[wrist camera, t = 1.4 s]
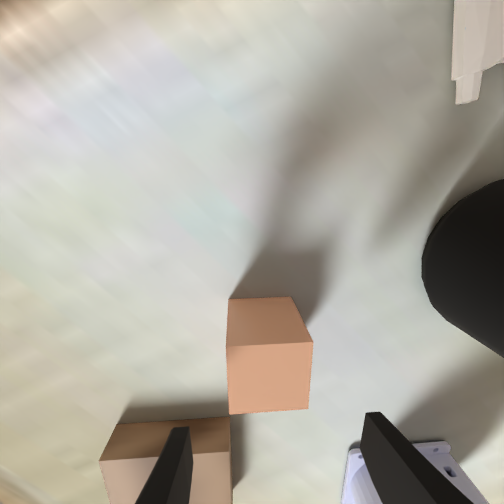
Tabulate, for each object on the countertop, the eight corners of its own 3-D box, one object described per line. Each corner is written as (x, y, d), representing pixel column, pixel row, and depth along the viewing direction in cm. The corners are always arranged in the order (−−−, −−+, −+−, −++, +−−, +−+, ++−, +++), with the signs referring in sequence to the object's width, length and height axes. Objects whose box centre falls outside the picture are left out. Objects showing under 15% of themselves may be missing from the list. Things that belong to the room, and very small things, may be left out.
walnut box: (230, 412, 20) (228, 451, 17) (232, 484, 22) (232, 529, 19) (119, 419, 19) (98, 461, 16) (135, 492, 22) (119, 539, 19)
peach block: (290, 296, 17) (313, 341, 12) (288, 348, 18) (308, 408, 13) (228, 298, 16) (225, 346, 12) (230, 351, 18) (228, 414, 13)
